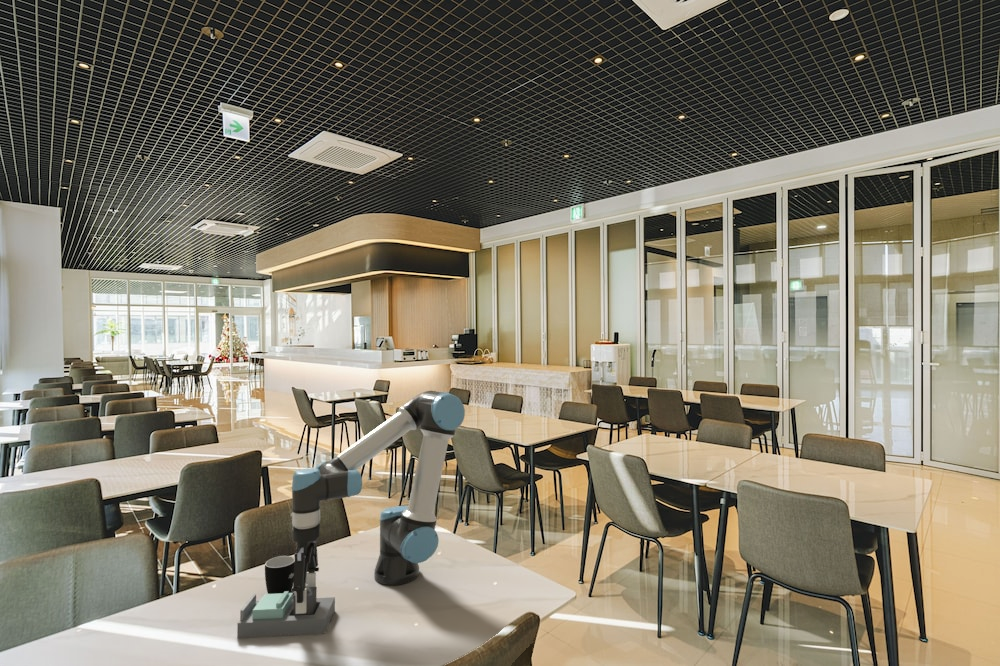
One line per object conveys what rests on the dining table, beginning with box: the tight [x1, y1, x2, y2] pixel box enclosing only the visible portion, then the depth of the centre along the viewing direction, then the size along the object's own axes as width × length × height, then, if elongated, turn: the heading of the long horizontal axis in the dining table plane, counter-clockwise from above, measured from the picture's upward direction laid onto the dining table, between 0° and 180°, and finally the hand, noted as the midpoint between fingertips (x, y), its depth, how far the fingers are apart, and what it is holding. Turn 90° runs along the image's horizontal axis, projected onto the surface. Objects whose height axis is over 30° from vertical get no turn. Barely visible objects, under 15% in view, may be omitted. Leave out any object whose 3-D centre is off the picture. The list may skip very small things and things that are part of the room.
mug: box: [264, 555, 295, 594], centre depth 162 cm, size 12×9×10 cm
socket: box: [236, 593, 336, 639], centre depth 143 cm, size 23×12×7 cm, turn 96°
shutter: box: [252, 591, 294, 619], centre depth 142 cm, size 8×9×4 cm
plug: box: [293, 584, 318, 616], centre depth 143 cm, size 5×5×11 cm
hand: (306, 603), depth 143 cm, fingers open, 9 cm apart
